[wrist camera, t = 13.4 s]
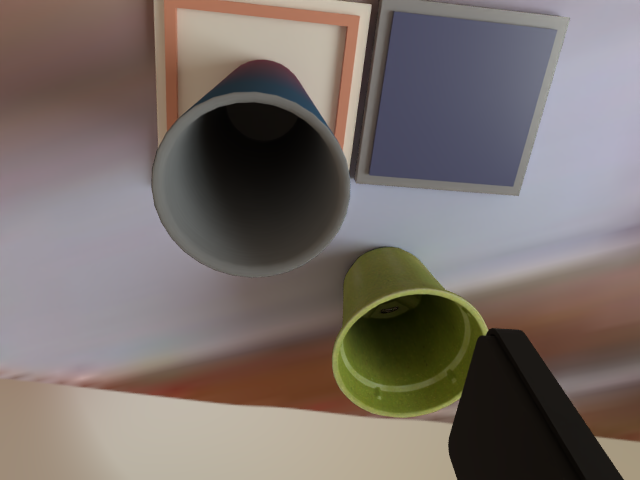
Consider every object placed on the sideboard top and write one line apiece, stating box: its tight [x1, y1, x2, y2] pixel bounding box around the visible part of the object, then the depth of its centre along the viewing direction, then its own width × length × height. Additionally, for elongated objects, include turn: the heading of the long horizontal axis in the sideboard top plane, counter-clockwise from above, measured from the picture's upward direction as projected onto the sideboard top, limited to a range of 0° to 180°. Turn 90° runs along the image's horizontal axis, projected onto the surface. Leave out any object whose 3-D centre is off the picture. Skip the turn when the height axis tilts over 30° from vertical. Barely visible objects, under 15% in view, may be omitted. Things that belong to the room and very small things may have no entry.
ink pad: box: [354, 0, 570, 196], centre depth 32 cm, size 11×11×1 cm
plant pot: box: [332, 247, 488, 418], centre depth 34 cm, size 9×9×9 cm
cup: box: [151, 60, 350, 277], centre depth 25 cm, size 7×7×15 cm
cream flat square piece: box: [154, 0, 372, 170], centre depth 31 cm, size 12×12×1 cm
